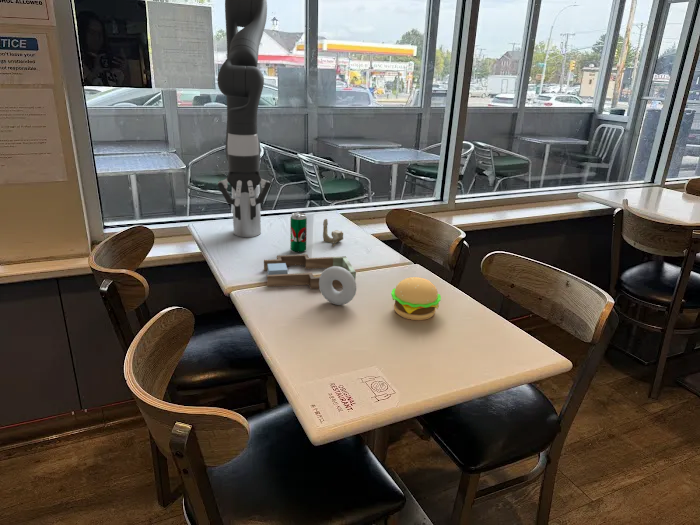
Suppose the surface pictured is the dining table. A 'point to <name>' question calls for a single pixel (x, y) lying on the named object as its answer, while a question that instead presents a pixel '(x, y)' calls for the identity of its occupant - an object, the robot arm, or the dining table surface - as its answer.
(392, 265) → the dining table surface
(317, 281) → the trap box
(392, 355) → the dining table surface
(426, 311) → the toy cheeseburger
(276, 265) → the block
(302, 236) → the soda can
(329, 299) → the donut
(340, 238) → the bone
